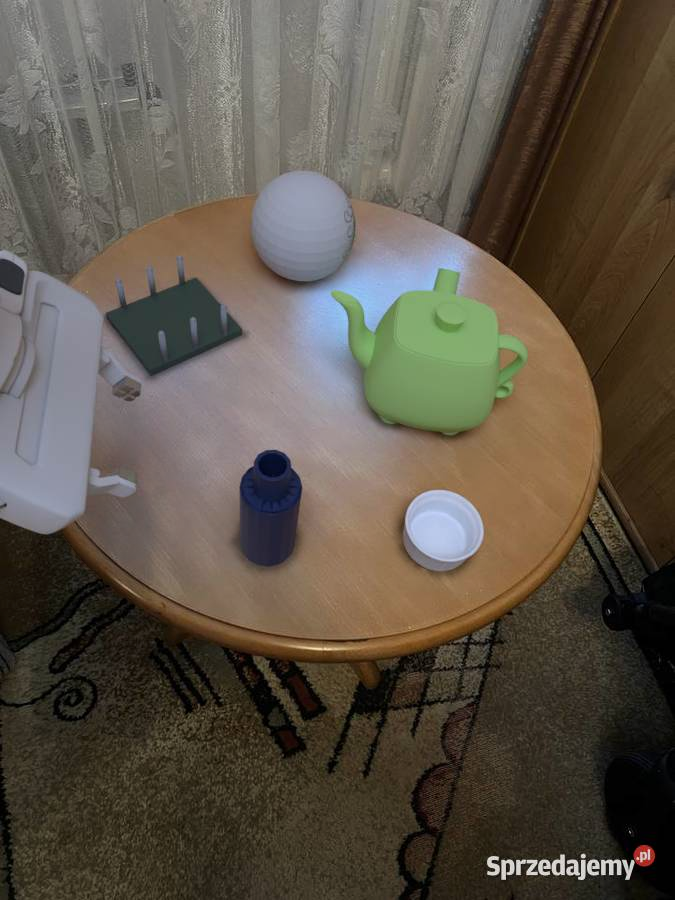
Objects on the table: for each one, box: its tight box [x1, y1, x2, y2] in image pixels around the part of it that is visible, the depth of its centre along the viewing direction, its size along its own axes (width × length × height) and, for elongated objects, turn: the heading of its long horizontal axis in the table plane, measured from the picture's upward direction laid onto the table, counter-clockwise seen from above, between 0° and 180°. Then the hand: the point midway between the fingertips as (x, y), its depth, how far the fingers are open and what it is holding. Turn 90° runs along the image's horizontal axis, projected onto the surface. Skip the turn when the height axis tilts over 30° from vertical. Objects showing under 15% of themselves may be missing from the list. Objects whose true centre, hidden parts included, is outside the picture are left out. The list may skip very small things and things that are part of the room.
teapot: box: [330, 267, 529, 436], centre depth 83 cm, size 25×22×16 cm
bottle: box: [239, 449, 303, 567], centre depth 67 cm, size 6×6×16 cm
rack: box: [105, 254, 243, 377], centre depth 87 cm, size 14×12×6 cm
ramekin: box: [402, 489, 485, 572], centre depth 74 cm, size 9×9×4 cm
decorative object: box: [250, 169, 356, 282], centre depth 93 cm, size 15×15×15 cm
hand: (134, 436), depth 53 cm, fingers open, 8 cm apart
